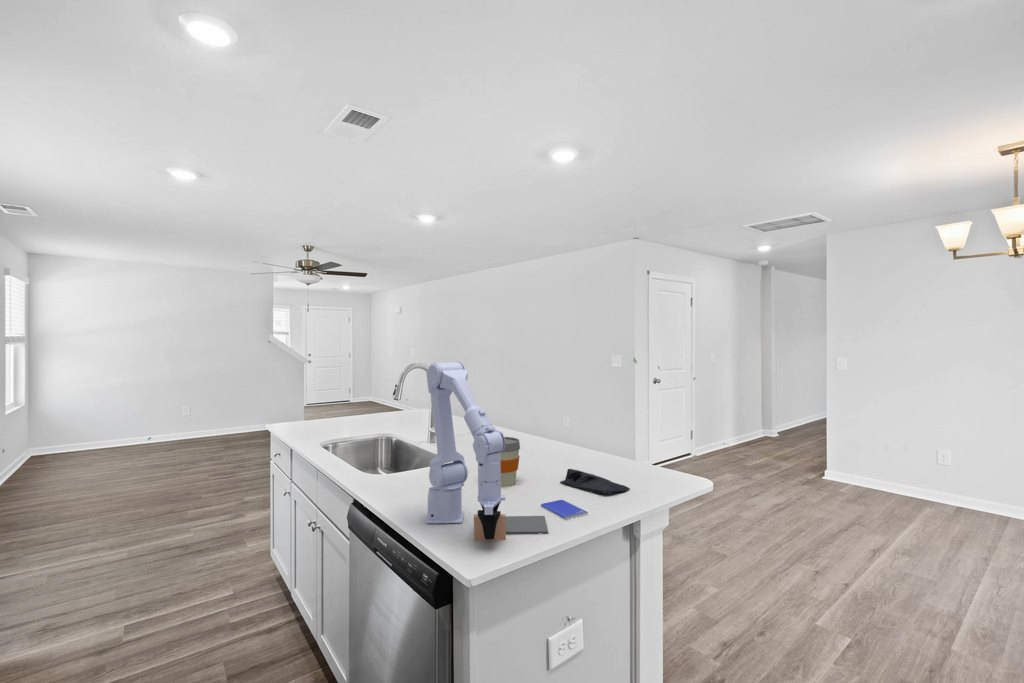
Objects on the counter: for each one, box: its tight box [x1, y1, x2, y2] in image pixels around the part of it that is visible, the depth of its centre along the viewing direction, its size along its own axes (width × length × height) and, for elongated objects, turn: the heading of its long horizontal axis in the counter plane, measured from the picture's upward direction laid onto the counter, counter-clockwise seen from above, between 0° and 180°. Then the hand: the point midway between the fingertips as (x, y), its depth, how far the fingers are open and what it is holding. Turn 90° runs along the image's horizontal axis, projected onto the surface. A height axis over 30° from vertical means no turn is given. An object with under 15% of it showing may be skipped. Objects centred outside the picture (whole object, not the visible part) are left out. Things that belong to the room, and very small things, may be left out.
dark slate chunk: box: [559, 468, 631, 496], centre depth 163 cm, size 15×22×5 cm
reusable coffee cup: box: [501, 436, 521, 488], centre depth 167 cm, size 13×13×15 cm
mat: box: [506, 515, 549, 535], centre depth 128 cm, size 14×11×1 cm
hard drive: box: [540, 499, 589, 521], centre depth 139 cm, size 2×8×12 cm
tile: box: [473, 513, 507, 541], centre depth 120 cm, size 8×2×6 cm, turn 91°
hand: (489, 533), depth 120 cm, fingers open, 7 cm apart
